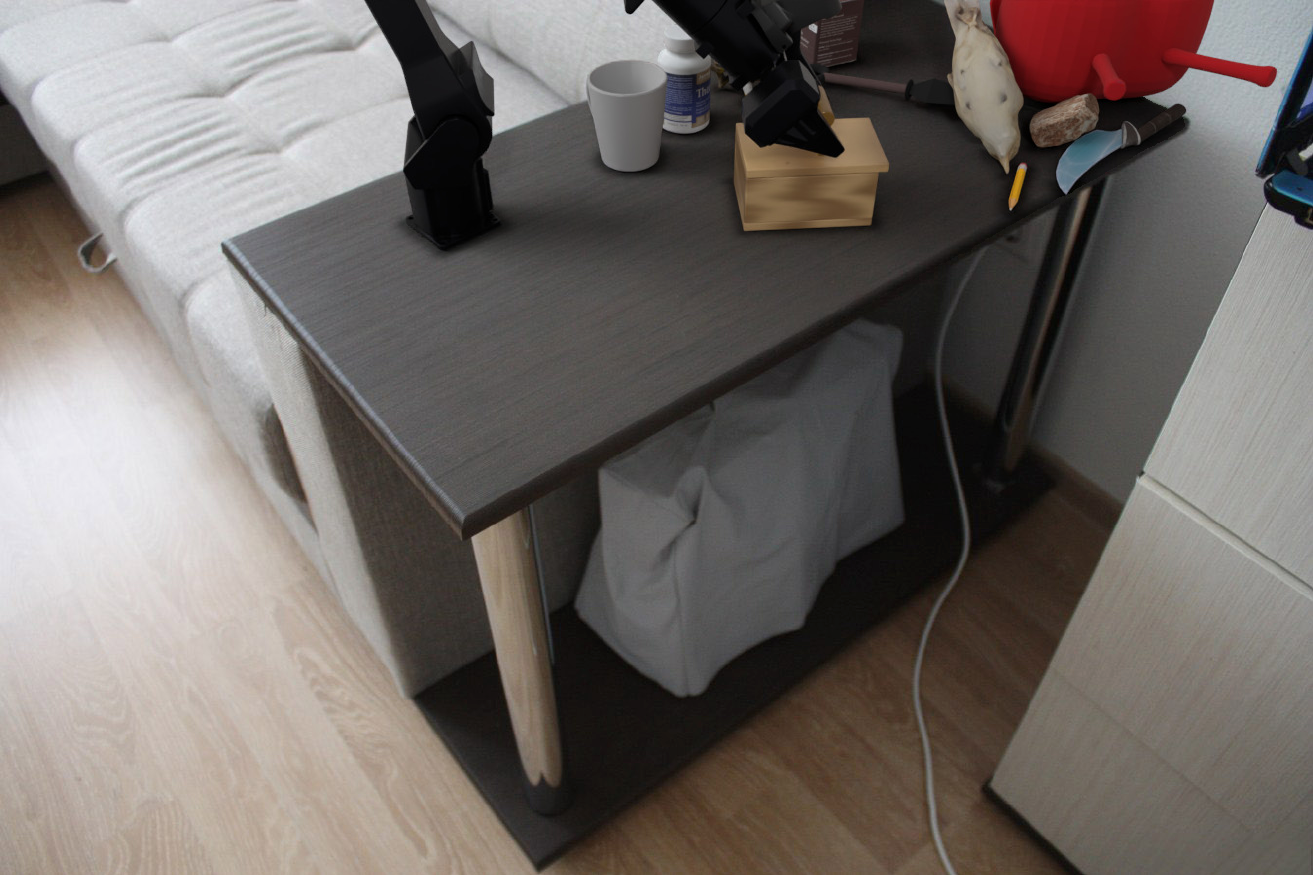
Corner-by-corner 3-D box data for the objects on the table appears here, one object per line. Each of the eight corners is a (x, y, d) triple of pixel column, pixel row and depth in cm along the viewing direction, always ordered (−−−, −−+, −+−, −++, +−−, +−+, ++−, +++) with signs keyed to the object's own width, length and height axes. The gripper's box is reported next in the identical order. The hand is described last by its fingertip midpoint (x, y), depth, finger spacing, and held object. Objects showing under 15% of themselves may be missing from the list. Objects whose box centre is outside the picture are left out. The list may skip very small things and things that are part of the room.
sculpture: (911, -27, 106) (932, -5, 110) (967, 181, 99) (988, 197, 103) (967, -62, 102) (987, -38, 106) (1029, 151, 95) (1049, 169, 99)
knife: (1022, 183, 99) (1069, 204, 96) (1026, 168, 97) (1073, 189, 95) (1139, 102, 108) (1184, 119, 106) (1144, 87, 107) (1189, 104, 105)
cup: (624, 186, 98) (620, 103, 93) (563, 148, 104) (555, 67, 98) (684, 160, 102) (684, 78, 96) (621, 124, 108) (618, 44, 102)
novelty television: (1130, -69, 114) (1324, 4, 91) (1100, 50, 122) (1271, 144, 99) (957, -59, 111) (1113, 19, 88) (938, 62, 119) (1075, 163, 95)
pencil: (1017, 167, 100) (1023, 171, 100) (1004, 211, 94) (1010, 216, 94) (1022, 161, 99) (1028, 165, 99) (1009, 205, 93) (1016, 209, 93)
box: (785, 51, 120) (790, -13, 114) (829, 41, 121) (836, -23, 116) (812, 72, 116) (818, 6, 110) (857, 61, 117) (866, -4, 112)
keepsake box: (853, 177, 99) (859, 126, 95) (871, 225, 93) (879, 173, 89) (733, 182, 99) (735, 131, 95) (743, 231, 93) (746, 179, 89)
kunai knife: (1032, 135, 102) (1036, 105, 99) (787, 93, 115) (786, 65, 112) (1047, 115, 104) (1051, 85, 102) (804, 76, 117) (804, 48, 114)
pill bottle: (705, 137, 105) (706, 44, 98) (653, 133, 106) (652, 40, 99) (713, 113, 109) (715, 21, 102) (664, 109, 110) (663, 18, 103)
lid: (868, 125, 95) (875, 73, 92) (888, 172, 89) (896, 118, 86) (735, 131, 95) (737, 79, 92) (746, 178, 89) (749, 125, 85)
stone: (1068, 142, 107) (1035, 107, 107) (1115, 104, 103) (1081, 67, 102) (1054, 168, 102) (1019, 132, 102) (1102, 129, 98) (1066, 91, 98)
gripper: (799, -27, 72) (930, 115, 80) (772, -110, 86) (887, 18, 93) (687, 83, 78) (820, 206, 86) (679, -11, 91) (794, 102, 99)
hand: (832, 127), depth 91 cm, fingers open, 9 cm apart
